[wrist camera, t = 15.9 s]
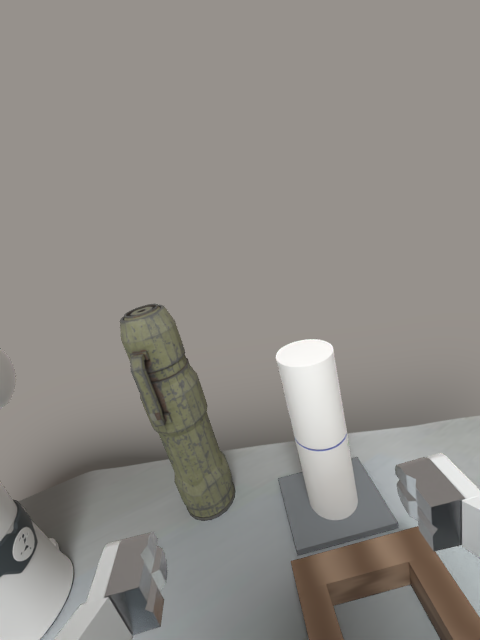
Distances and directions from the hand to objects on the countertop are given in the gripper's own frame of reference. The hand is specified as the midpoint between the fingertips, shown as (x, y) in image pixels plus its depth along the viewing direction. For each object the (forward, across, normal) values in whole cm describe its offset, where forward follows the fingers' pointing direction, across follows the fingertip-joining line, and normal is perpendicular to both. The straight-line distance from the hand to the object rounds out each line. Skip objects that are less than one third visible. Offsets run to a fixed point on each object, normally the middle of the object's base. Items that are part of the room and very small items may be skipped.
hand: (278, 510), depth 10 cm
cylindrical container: (+27, -7, +34) cm, 44 cm away
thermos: (+34, +12, +35) cm, 50 cm away
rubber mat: (+27, -7, +35) cm, 45 cm away
